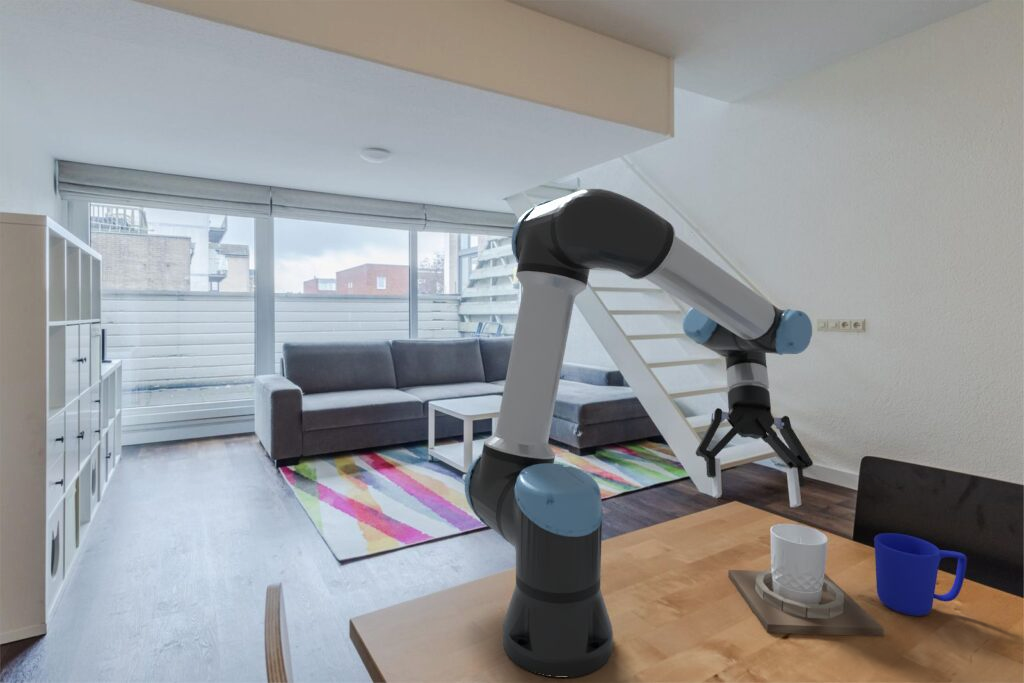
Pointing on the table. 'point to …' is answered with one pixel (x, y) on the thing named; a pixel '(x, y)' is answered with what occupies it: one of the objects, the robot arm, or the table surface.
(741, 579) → the brown flat ringed piece
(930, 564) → the mug
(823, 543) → the white cup
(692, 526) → the table surface
